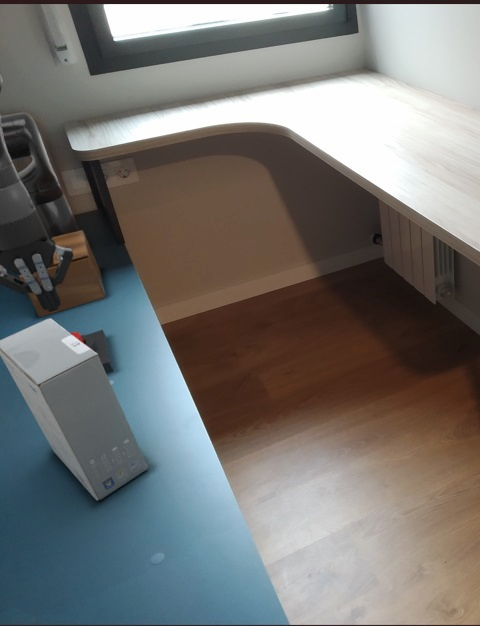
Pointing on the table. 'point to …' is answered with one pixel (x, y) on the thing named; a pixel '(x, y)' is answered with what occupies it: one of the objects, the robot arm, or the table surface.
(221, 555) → the table surface
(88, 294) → the carton
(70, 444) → the hard drive box
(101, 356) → the button block
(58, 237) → the flap
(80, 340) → the button
